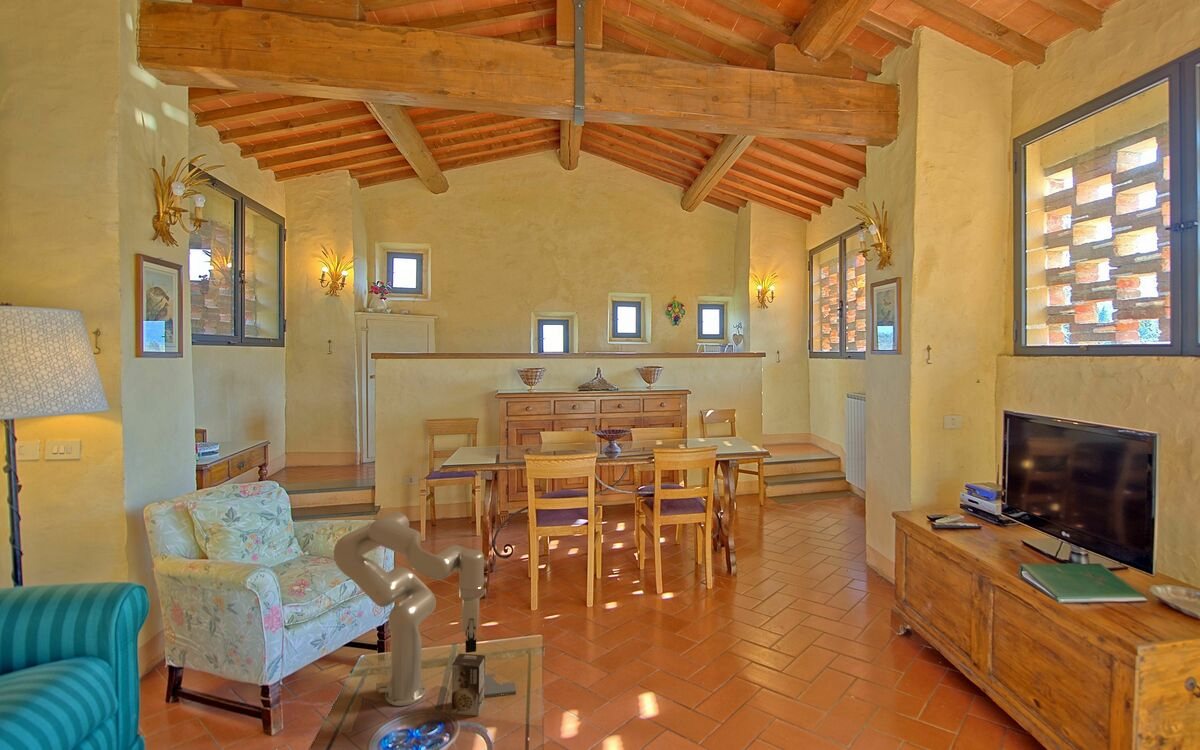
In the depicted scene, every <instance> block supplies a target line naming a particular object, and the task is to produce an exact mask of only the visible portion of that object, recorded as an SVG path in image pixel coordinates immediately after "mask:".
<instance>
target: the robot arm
mask: <svg viewBox="0 0 1200 750" xmlns="http://www.w3.org/2000/svg"><path fill="white" fill-rule="evenodd" d="M421 542H422V535H421V532H420V531H418V530H416V529H414V528H412V527H410V520H409V518H408V517H407V516H406V514H404V513H403V512H399V511H394V512H391V513H388V514H386V515H384V516H381V517H380V518H377V519H375V520H374V521H372V522H371V523H369V524H367V525H366V524H365V525H364V526H361V527H360V528H358V529H355V530H353V531H351V532H348V533H347V534H345V535H343V536H342V537H340V538H339V540H338V541H337V542H336V544H335V545H334V549H333V557H334V558H333V559H334V562H335V564H336V566H337V567H338V569H339V570H340V571H341V573H343V574H344V575H345V576H347V577H348V578H349V579H350V580H352V581H353V583H355V584H356V585H357V586H358V587H359V588H360V589H361V590H362V592H363V593H364V594H365V595H367V597H368V598H369V599H370V600H371V601H372V602H373V603H374V604H375V605H376V606H378V607H380V608H385V607H389V606H391V605H392V604H393V603H395V602H396V601H398V600H400V599H402V600H400V601H399V602H398V603H397V604H395V605H394V606H393V607H392V609H391V610H390V612H389V615H388V619H387V621H388V626H389V633H390V678H389V680H387V681H386V682H376V685H375V690H376V691H378V694H384V693H385V695H384V697H385V698H384V699H385V701H386V702H387V704H389V705H392V706H397V707H402V706H403V707H404V706H409V705H412V704H415V703H416V702H418V701H420V700H421V699H422V698H423V697H424V696H425V695H426V688H427V686H426V684H425V683H424V682H423V681H422V656H423V655H422V651H423V650H422V647H423V646H422V645H423V643H422V642H423V639H422V635H421V633H420V630H419V626H420V624H421V623H422V622H424V620H425V619H427V618H428V617H429V616H430V615H431V614H432V613H433V612H434V611H435V610H436V607H437V599H436V598H437V597H436V596H435V594H434V593H433V591H432V590H431V589H430V588H429V587H428V586H427V585H426V584H425V583H424V582H423V581H422V580H421V579H420V578H419V577H418V576H417V575H416V574H415V573H414V572H413V571H415V572H416V573H418V574H420V575H422V576H425V577H426V578H429V579H432V580H438V581H441V580H444V579H447V578H448V577H449V576H451V575H452V574H453V573H455V572H457V571H459V573H458V574H459V575H458V577H459V578H458V579H459V581H458V584H459V585H458V586H459V587H458V596H459V599H461V631H462V633H464V632H465V637H466V639H465V654H470V653H475V652H477V638H476V633H477V631H478V629H479V628H478V627H479V621H480V620H479V619H480V599H481V598H482V597H483V596H484V588H485V587H484V585H485V583H484V581H485V580H484V578H485V575H484V573H485V555H484V553H483V552H482V550H479V549H469V548H466V547H463V546H461V545H456V544H454V545H450V546H448V547H446V548H445V549H444V550H442V551H440V552H439V553H437V554H433V553H431V552H429V551H427V550H424V548H422V547H421ZM378 547H383V548H386V549H388V550H389V551H392V552H394V553H396V554H398V555H401V556H404V557H405V558H406V561H407V563H408V565H409V566H410V567H411V568H412V569H413V571H411V570H410V569H409V568H406V567H403V566H399V567H395V568H393V569H391V570H389V571H386V570H384V569H383V568H382V567H381V566H380V565H379V564H378V563H377V562H376V561H375V560H372V559H370V558H367V557H364V556H363V555H365V554H366V553H369V552H371V551H372V550H375V549H377V548H378Z"/></svg>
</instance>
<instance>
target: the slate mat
mask: <svg viewBox="0 0 1200 750" xmlns="http://www.w3.org/2000/svg"><path fill="white" fill-rule="evenodd" d="M495 674H496V673H490V674H489V673H488V674H485V694H484V699H485V698H492V697H500V696H499V695H501V694H502V695H503V694H504V695H503V696H507V695H506V694H511V695H516V694H517V693H516V692H517V690H516V684H515V683H516V682H515V683H513V682H512V683H503V685H501V684H499V683H497V682H496V681H495V680H494V679H492V677H493V678H494V676H495ZM495 677H496V676H495Z"/></svg>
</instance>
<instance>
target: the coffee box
mask: <svg viewBox="0 0 1200 750" xmlns="http://www.w3.org/2000/svg"><path fill="white" fill-rule="evenodd" d="M485 672H486V655H484V654H473V653H458V655H457V656H456V658H455V659H454V660H453V663H451V714H453V715H454V714H457V715H466V716H467V715H468V716H475V717H476V716H478V717H479V716H480V714H481V713H482V711H483V708H484V707H485V698H484V694H485V675H486V673H485Z"/></svg>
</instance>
